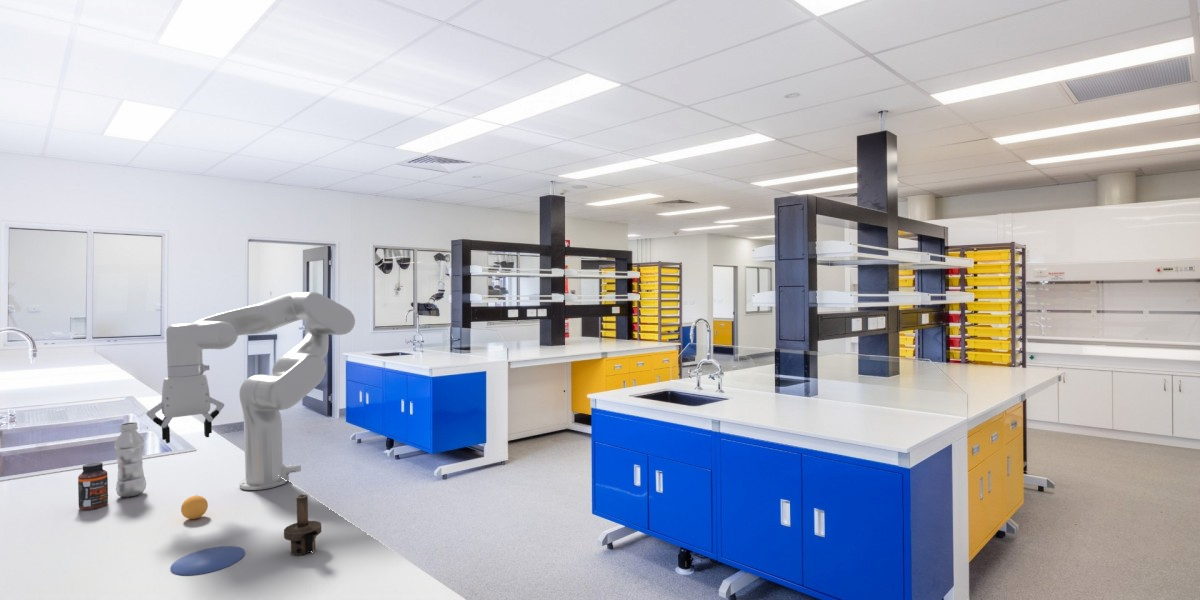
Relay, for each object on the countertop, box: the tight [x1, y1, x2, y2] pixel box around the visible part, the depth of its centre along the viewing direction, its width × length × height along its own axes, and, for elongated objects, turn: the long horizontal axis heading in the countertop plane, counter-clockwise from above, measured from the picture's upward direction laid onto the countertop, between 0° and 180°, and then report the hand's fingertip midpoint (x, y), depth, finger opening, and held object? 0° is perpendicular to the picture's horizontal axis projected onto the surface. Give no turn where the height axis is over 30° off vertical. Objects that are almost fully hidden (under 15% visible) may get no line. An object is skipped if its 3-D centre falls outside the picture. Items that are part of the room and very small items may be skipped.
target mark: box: [169, 545, 246, 576], centre depth 126 cm, size 13×13×1 cm
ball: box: [180, 495, 209, 520], centre depth 149 cm, size 6×6×6 cm
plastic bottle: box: [114, 421, 147, 498], centre depth 166 cm, size 6×7×20 cm
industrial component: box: [283, 494, 322, 556], centre depth 130 cm, size 9×7×12 cm
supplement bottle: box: [77, 461, 109, 511], centre depth 158 cm, size 6×6×11 cm
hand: (187, 438), depth 156 cm, fingers open, 7 cm apart
